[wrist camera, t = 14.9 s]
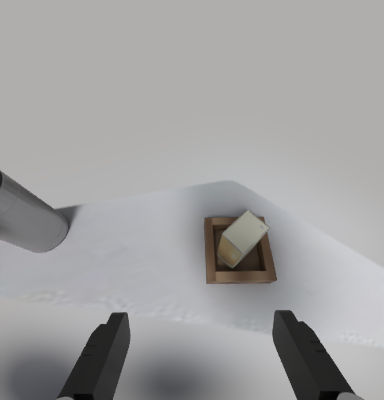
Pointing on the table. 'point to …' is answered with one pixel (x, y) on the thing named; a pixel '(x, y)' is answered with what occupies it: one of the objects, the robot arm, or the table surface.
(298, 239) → the table surface
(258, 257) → the block
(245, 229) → the skincare box
